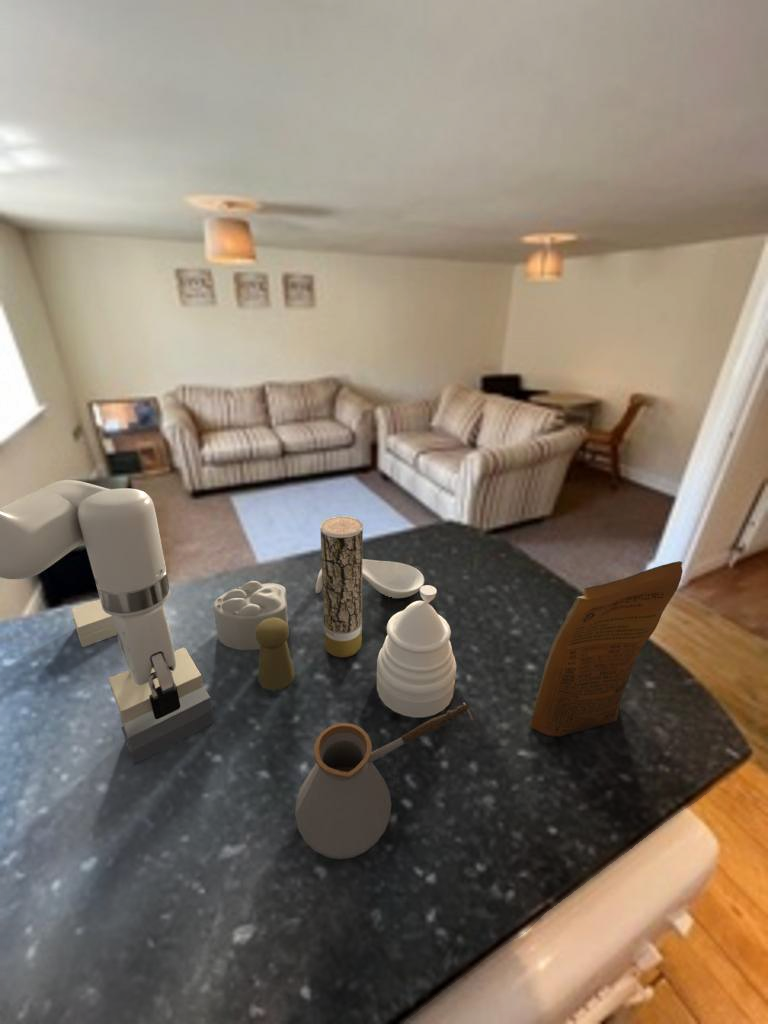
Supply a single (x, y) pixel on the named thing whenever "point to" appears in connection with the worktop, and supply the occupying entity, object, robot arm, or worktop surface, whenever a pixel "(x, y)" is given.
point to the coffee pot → (350, 789)
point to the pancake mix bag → (600, 650)
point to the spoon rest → (388, 578)
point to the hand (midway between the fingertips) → (159, 693)
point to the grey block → (168, 725)
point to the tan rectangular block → (93, 623)
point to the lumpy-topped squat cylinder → (248, 613)
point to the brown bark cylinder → (342, 584)
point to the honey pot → (417, 660)
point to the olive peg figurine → (274, 654)
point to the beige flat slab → (136, 697)
